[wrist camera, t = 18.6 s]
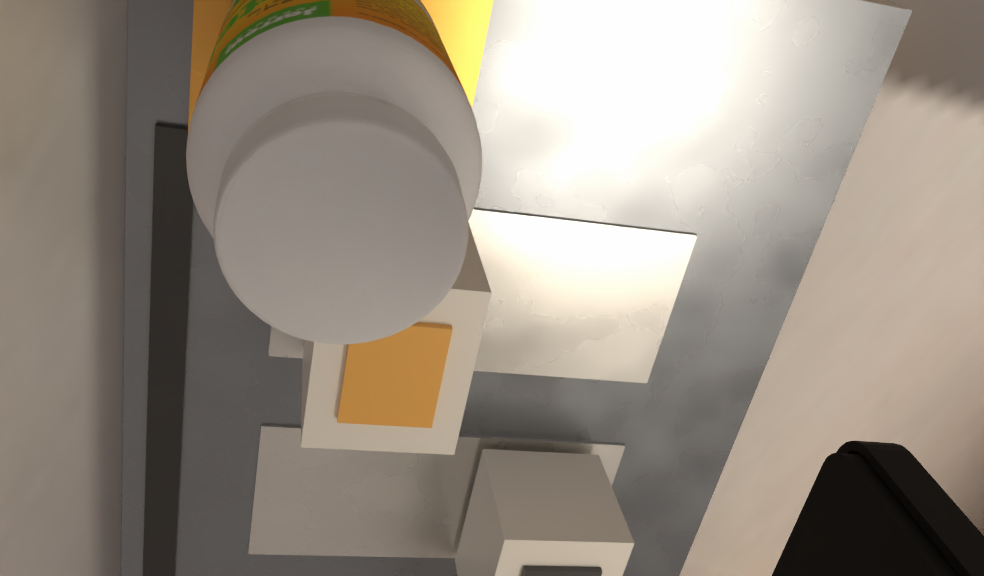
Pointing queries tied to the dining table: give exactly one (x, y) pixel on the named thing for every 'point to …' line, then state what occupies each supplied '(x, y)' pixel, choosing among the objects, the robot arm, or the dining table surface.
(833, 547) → the robot arm
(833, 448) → the dining table surface
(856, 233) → the dining table surface
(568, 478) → the block
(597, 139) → the panel
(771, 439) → the dining table surface
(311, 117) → the supplement bottle
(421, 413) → the block
